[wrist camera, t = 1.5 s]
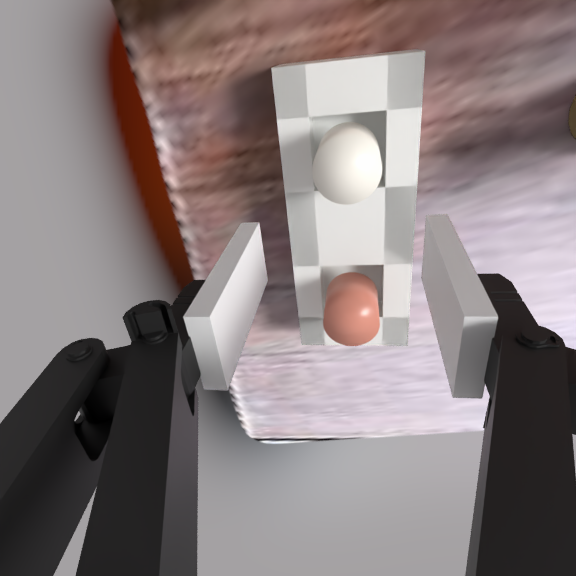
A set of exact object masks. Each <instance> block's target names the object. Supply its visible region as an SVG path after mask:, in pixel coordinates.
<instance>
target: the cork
mask: <svg viewBox="0 0 576 576" xmlns="http://www.w3.org/2000/svg"><path fill="white" fill-rule="evenodd" d="M568 124H569V127H570V131H571V134H572V136H573V137H574V138H575V139H576V95H575V97H574V100H573V102H572V105H571V107H570V110H569V121H568Z"/></svg>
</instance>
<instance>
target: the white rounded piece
mask: <svg viewBox="0 0 576 576" xmlns="http://www.w3.org/2000/svg"><path fill="white" fill-rule="evenodd" d="M312 176H313V180H314V183H315V186H316V188H317V189H318V191H319V192H320V193H321V194H322V195H323V196H324V197H325V198H326V199H328V200H330V201H332V202H334V203H337V204H343V205H349V204H355V203H358V202H361V201H363V200H365V199H366V198H368V197H369V196H370V195H371V194H372V193H373V192H374V191H375V189H376V188H377V186H378V184H379V182H380V180H381V176H382V162H381V156H380V151H379V146H378V142H377V139H376V137H375V136H374V134H373V133H372V132H371V131H370V130H369V129H368V128H367V127H365V126H364V125H362V124H359V123H355V122H344V123H340V124H338V125H335V126H334V127H332V128H331V129H330V130H328V131H327V132H326V133H325V135H324V136H323V138H322V139H321V142H320V144H319V147H318V150H317V153H316V156H315V158H314V162H313V167H312Z"/></svg>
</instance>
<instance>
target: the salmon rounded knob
mask: <svg viewBox="0 0 576 576" xmlns="http://www.w3.org/2000/svg"><path fill="white" fill-rule="evenodd" d="M323 326H324V330H325V332H326V333H327V335H328V336H329V337H330V338H331V339H332V340H334V341H335V342H337V343H339V344H342V345H347V346H358V345H362V344H365V343H367V342H369V341H371V340H372V339H373V338H374V337H375V336H376V335H377V333H378V331H379V328H380V319H379V306H378V293H377V288H376V285H375V284H374V282H373V281H372V280H371V279H370V278H369V277H367V276H365V275H363V274H360V273H356V272H348V273H343V274H340V275H338V276H337V277H335V278H334V279H333V280H332V281H331V282H330V284H329V285H328V288H327V294H326V302H325V310H324V319H323Z"/></svg>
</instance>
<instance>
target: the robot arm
mask: <svg viewBox="0 0 576 576" xmlns="http://www.w3.org/2000/svg"><path fill="white" fill-rule="evenodd" d="M421 278H422V282H423V286H424V290H425V293H426V297H427V301H428V305H429V309H430V312H431V316H432V320H433V324H434V328H435V332H436V335H437V339H438V343H439V347H440V351H441V355H442V358H443V362H444V366H445V370H446V374H447V378H448V381H449V385H450V389H451V393H452V397H453V398H482V397H483V392H484V386H485V384H486V387H487V390H488V392H489V395H490V398H489V402H488V407H487V412H486V417H485V422H484V426H483V428H485V430H484V437H483V445H482V453H481V461H480V468H479V475H478V483H477V491H476V499H475V506H474V514H473V521H472V529H471V537H470V545H469V552H468V560H467V567H466V575H465V576H576V476H575V464H574V451H573V438H572V434H575V435H576V350H575V349H571V348H568V347H565V344H564V342H563V339H562V338H561V337H560V336H559V335H557V334H556V333H555V332H553V331H551V330H549V329H547V328H545V327H541V326H538V324H537V322H536V321H535V319H534V318H533V316H532V314H531V313H530V311H529V310H528V308H527V306H526V305H525V303H524V301H522V298H521V297H520V295H519V293H517V290H516V289H515V287H514V285H513V284H512V282H511V281H509V280H508V279H506V278H505V277H503V276H502V275H500V274H477V273H476V271H475V269H474V267H473V265H472V263H471V261H470V259H469V257H468V255H467V253H466V251H465V249H464V247H463V245H462V243H461V241H460V239H459V237H458V235H457V233H456V231H455V229H454V227H453V225H452V223H451V221H450V219H449V217H448V215H447V214H439V215H426V223H425V237H424V250H423V263H422V277H421ZM267 281H268V278H267V271H266V265H265V258H264V251H263V244H262V238H261V231H260V224H259V222H252V223H241V224H240V226H239V227H238V229H237V230H236V232H235V234H234V235H233V237H232V239H231V240H230V242H229V243H228V245H227V247H226V248H225V250H224V252H223V253H222V255H221V256H220V258H219V260H218V261H217V263H216V264H215V266H214V268H213V269H212V271H211V273H210V274H209V276H208V277H207V279H206V280H194V281H193V282H191V283H189V284H188V285H187V286H185V287H184V288H183V289H182V291H181V292H180V294H179V295H178V298H176V300H175V301H174V303H173V305H171V306H170V304H169V303H167V302H166V301H161V300H153V301H147V302H143V303H140V304H138V305H136V306H134V307H132V308H131V309H130V310H128V311H127V312H126V313H125V315H124V316H123V320H124V323H125V325H126V328H127V330H128V333H129V336H130V338H131V341H132V342H131V345H128V346H124V347H119V348H114V349H109V350H106V348H105V346H104V344H103V342H102V341H101V340H99V339H95V338H87V339H81V340H78V341H75V342H73V343H71V344H69V345H68V346H66V347H64V348H63V349H62V350H61V351H60V352H59V353H58V354H57V355H56V356H55V357H54V358H53V360H52V361H51V362H50V363H49V365H48V366H47V367H46V368H45V369H44V371H43V372H42V373H41V375H40V376H39V377H38V378H37V379H36V380H35V382H34V383H33V384H32V385H31V387H30V388H29V389H28V390H27V391H26V393H25V394H24V395H23V396H22V398H21V399H20V400H19V401H18V403H17V404H16V405H15V406H14V407H13V409H12V410H11V411H10V412H9V414H8V415H7V416H6V417H5V418H4V420H3V421H2V422H1V424H0V576H53V575H54V573H55V571H56V569H57V567H58V565H59V563H60V561H61V559H62V557H63V555H64V552H65V550H66V548H67V546H68V544H69V542H70V540H71V538H72V536H73V534H74V532H75V530H76V528H77V526H78V524H79V522H80V519H81V518H82V515H83V513H84V511H85V509H86V507H87V505H88V503H89V501H90V499H91V497H92V495H93V493H94V491H95V489H96V487H97V489H96V493H95V497H94V501H93V505H92V510H91V514H90V518H89V522H88V526H87V530H86V535H85V539H84V543H83V548H82V551H81V556H80V560H79V564H78V568H77V572H76V576H197V506H198V505H197V500H198V498H197V497H198V396H197V392H196V389H195V386H196V384H197V381H198V380H199V377H201V380H202V384H203V387H204V389H205V390H207V389H208V390H228V388H229V386H230V383H231V380H232V377H233V375H234V372H235V369H236V366H237V364H238V361H239V358H240V355H241V353H242V350H243V347H244V344H245V342H246V339H247V336H248V333H249V331H250V328H251V325H252V323H253V320H254V317H255V314H256V312H257V309H258V306H259V303H260V301H261V298H262V295H263V292H264V290H265V287H266V284H267ZM78 411H79V412H80V416H79V417H78V419H77V420H76V421H74V420H75V417H76V415H77V413H78Z"/></svg>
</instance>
